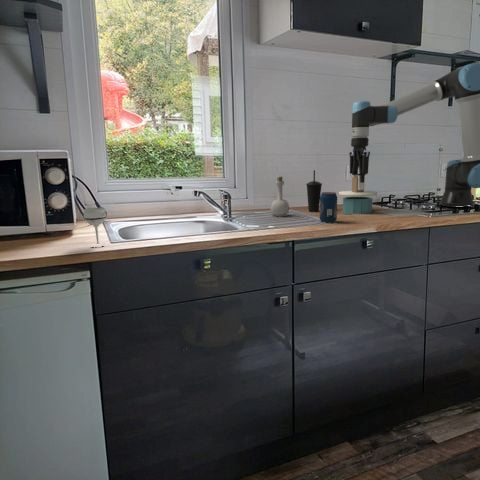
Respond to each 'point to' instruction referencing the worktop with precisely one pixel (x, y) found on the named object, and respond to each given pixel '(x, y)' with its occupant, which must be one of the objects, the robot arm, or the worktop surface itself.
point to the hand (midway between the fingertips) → (357, 189)
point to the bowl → (357, 205)
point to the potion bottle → (279, 201)
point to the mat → (402, 212)
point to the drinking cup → (313, 195)
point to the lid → (355, 191)
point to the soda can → (328, 207)
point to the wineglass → (95, 217)
